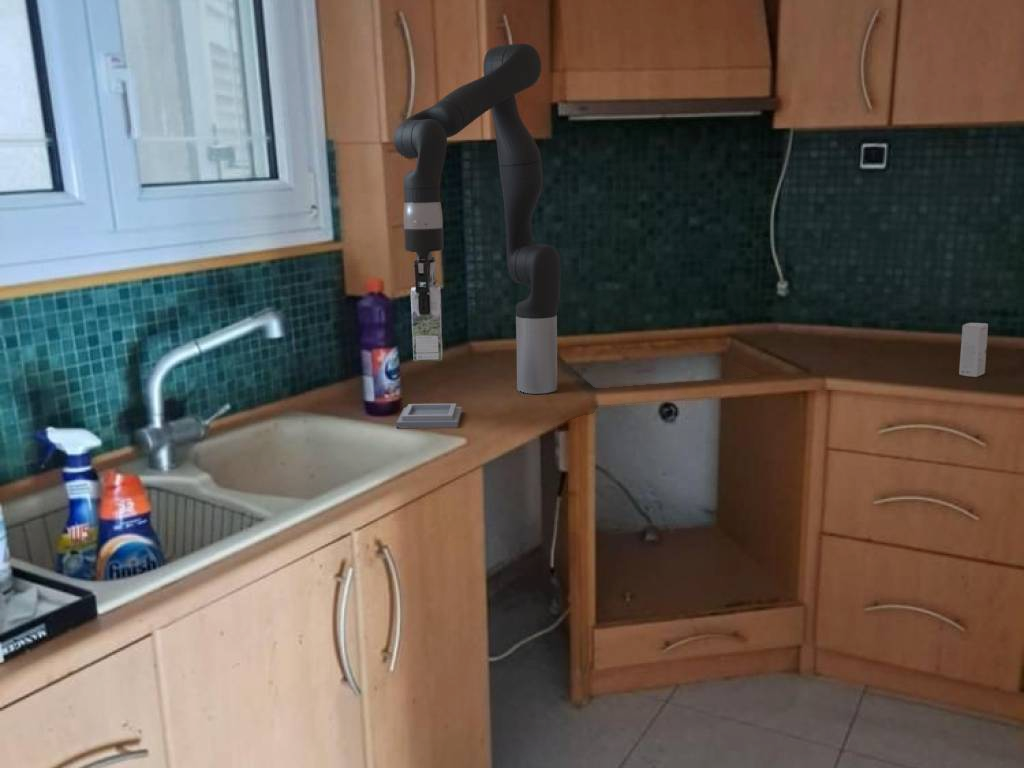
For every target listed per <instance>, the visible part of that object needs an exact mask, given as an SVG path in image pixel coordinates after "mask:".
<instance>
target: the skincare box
mask: <svg viewBox="0 0 1024 768" xmlns="http://www.w3.org/2000/svg"><path fill="white" fill-rule="evenodd" d="M961 330H962V331H961V344H960V357H959V369H958V375H960V376H963V377H964V376H965V377H970V378H971V377H973V378H977V377H981V376H982V375H984V374H985V373H986V364H987V363H986V360H987V359H986V358H987V348H988V347H987V346H988V345H987V344H988V333H989V332H988V330H989V324H988V323H985V322H984V323H983V322H968V323H965V324H963V325H962V329H961Z"/></svg>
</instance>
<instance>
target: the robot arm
mask: <svg viewBox="0 0 1024 768" xmlns="http://www.w3.org/2000/svg"><path fill="white" fill-rule="evenodd" d="M483 59H484V60H483V76H482V77H479V78H477V79H475V80H473V81H470V82H468V83H466V84H463V85H462V86H459V87H457V88H456V89H454V90H453V91H450V92H449V93H448V94H447V95H445V96H444V97H442V98H441V99H439V101H437V102H436V103H434V104H433V105H432V106H431V107H430V106H429V108H428V107H427V108H426V109H423V110H421V111H420V112H417V113H415V114H413V115H411V116H408V117H407V118H406V119H404V120H403V121H401V122H400V123H399V125H398V126H396V129H395V131H394V134H393V139H392V142H393V145H394V146H393V147H394V149H395V150H396V151H397V153H398V154H399V155H400V156H402V157H404V158H408V159H417V160H416V161H417V162H416V165H415V167H414V169H413V170H412V171H411V170H410V171H409V172H406V173H405V174H404V177H403V202H404V204H403V234H404V235H403V236H404V249H405V251H407V252H412V253H413V252H415V253H416V259H415V260H413V269H414V283H415V287H416V289H415V291H416V293H417V295H418V304H419V314H420V315H428V314H430V293H431V291H430V286H436V276H437V275H436V267H437V266H436V264H437V262H436V259H435V257H434V256H433V254H432V253H433V252H441V251H442V250H444V230H443V229H444V228H443V226H444V225H443V224H444V223H443V222H444V221H443V210H442V205H441V202H442V201H441V176H442V174H443V170H444V169H443V168H444V164H445V159H446V155H447V148H448V138H451V137H453V136H455V135H457V134H459V133H460V132H461V131H463V130H464V129H465V128H467V127H468V126H469V125H470V124H472V123H473V122H474V121H476V120H477V119H478V118H480V117H481V116H482V115H484V114H485V113H486V112H487V111H490V110H491V115H492V121H493V127H494V134H495V140H496V146H497V147H496V148H497V155H498V169H499V175H500V183H501V189H502V197H503V207H504V217H505V235H506V236H505V238H506V262H507V263H506V265H507V269H508V274H509V276H510V278H511V280H513V282H514V283H516V284H519V285H525V286H530V294H529V296H528V297H527V298H526V299H524V300H522V301H519V302H517V304H515V329H516V332H515V333H516V336H515V337H516V390H517V391H518V392H520V391H521V392H520V393H523V392H524V394H532V395H533V394H535V395H536V394H548V393H549V394H550V393H554V392H556V391H557V390H558V328H557V327H558V325H557V323H558V321H557V320H558V318H557V315H558V314H557V313H558V311H557V310H558V306H559V303H560V297H561V296H560V295H561V278H562V277H561V275H562V263H561V258H560V254H559V251H558V249H556V248H555V247H554V246H553V245H550V244H538V243H537V244H536V243H534V240H533V233H532V219H533V214H534V211H535V209H536V206H537V203H538V201H539V198H540V196H541V193H542V189H543V185H544V175H543V164H542V157H541V156H542V155H541V152H540V151H541V150H540V149H539V147H538V145H537V142H536V141H535V139H534V138H533V136H532V134H531V133H530V131H529V130H528V128H527V126H526V125H525V124H524V121H523V120H522V117H521V115H520V113H519V110H518V104H517V100H516V99H517V98H516V95H517V94H518V93H521V92H523V91H526V90H527V89H529V88H532V87H533V86H534V85H535V84H536V83H537V82H538V80H539V78H540V77H541V73H542V61H541V60H542V59H541V56H540V54H539V52H538V50H537V49H536V48H535V47H534V46H533V45H531V44H529V43H523V42H522V43H521V42H520V43H519V42H518V43H511V44H510V43H509V44H506V45H505V44H504V45H498V46H494V47H491V48H489V50H488V51H487V52H486V53H485V56H484V58H483ZM420 286H426V287H420Z"/></svg>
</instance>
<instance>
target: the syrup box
mask: <svg viewBox="0 0 1024 768" xmlns="http://www.w3.org/2000/svg"><path fill="white" fill-rule="evenodd" d="M420 287H426V286H421V285H420ZM415 289H416V286H412V287H411V289H410V303H411V304H410V306H411V333H412V349H413V350H412V355H413V358H412V359H413V362H441V361H442V359H443V355H444V354H443V352H444V351H443V337H442V335H443V333H442V328H443V327H442V294H441V289H442V288H441V285H435V286H430V291H431V293H430V314H428V315H420V314H419V304H418V295H417V293H416V291H415Z"/></svg>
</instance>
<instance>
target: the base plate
mask: <svg viewBox="0 0 1024 768" xmlns="http://www.w3.org/2000/svg"><path fill="white" fill-rule="evenodd" d="M462 409H463V408H462V406H457V403H455V402H454V403H408V404H407V406H406V407H404V408H403V409H402V411H401V413H400V415H399V416H398V418H397V420H396V422H395V423H396V428H397V427H408V428H407V429H443V428H445V429H447V428H448V429H449V428H450V429H451V428H453V429H455V428H456V429H458V427H459V423H460V420H461V416H462V413H463V412H462Z"/></svg>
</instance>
